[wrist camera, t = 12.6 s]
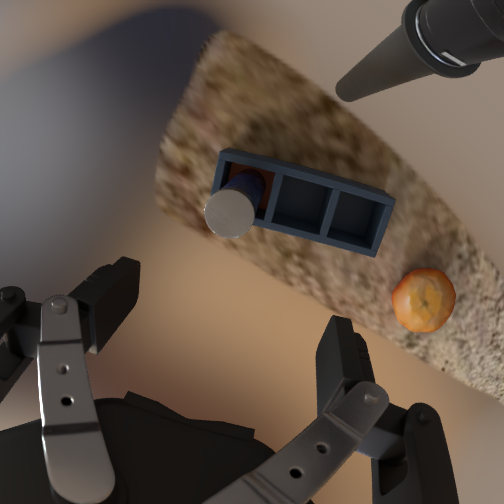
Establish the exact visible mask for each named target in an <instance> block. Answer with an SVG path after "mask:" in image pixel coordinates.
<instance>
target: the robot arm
mask: <svg viewBox="0 0 504 504" xmlns="http://www.w3.org/2000/svg"><path fill="white" fill-rule="evenodd" d="M414 28H415V32H416V35H417V38H418V40H419V42H420V43H421V45H422V47H423V48H424V49H425V51H426V52H427V53H428V54H429V55H430V56H431V57H432V58H434V59H435V60H436V61H438V62H439V63H441V64H443V65H445V66H448V67H452V68H461V67H465V66H468V65H470V64H474V63H478V62H482V61H487V60H491V59H495V58H500V57H504V0H429V1H428V2H426V3H424V4H423V5H422V6H421V7H420V8H419V9H418V10H417V12H416V14H415V17H414ZM139 281H140V262H139V261H137V260H134V259H130V258H127V257H124V256H123V257H121V258H120V259H119V260H117V261H116V262H115V263H114V264H113V265H111V264H108V265H105V266H102V267H100V268H98V269H97V270H96V271H95V272H93V273H92V274H91V275H90V276H89V277H88V278H86V280H84V281H83V282H82V283H81V284H80V285H79V286H77V287H76V288H75V289H74V290H73V291H72V292H71V293H70V294H68V295H55V296H51V297H49V298H47V299H46V300H45V301H44V302H43V304H41V303H36V302H30V301H26V297H25V293H24V291H23V290H22V289H21V288H19V287H14V286H8V287H4V288H1V289H0V339H1V337H4V342H3V343H2V344H1V345H0V403H1V401H3V399H4V398H5V396H6V395H7V394H8V392H9V391H10V389H11V388H12V387H13V385H14V384H15V383H16V381H17V380H18V379H19V377H20V376H21V375H22V373H23V372H24V371H25V369H26V368H27V367H28V366H29V364H30V363H31V362H32V360H33V359H34V358H37V359H38V381H39V396H40V407H41V417H42V418H40V419H37V420H34V421H31V422H28V423H25V424H22V425H19V426H15V427H12V428H9V429H6V430H2V431H0V504H314V503H313V501H311V498H312V497H313V496H314V495H315V494H316V493H317V492H318V491H319V490H320V489H321V488H322V487H323V486H324V485H325V484H326V483H327V482H328V480H329V479H330V478H331V477H332V476H333V475H334V474H335V473H336V472H337V470H338V469H339V468H340V467H341V466H342V465H343V464H344V463H345V461H346V460H347V459H348V458H349V457H350V456H351V454H352V453H353V452H354V451H356V452H359V453H361V454H364V455H366V456H369V457H371V469H372V501H373V504H459V500H458V494H457V488H456V484H455V478H454V474H453V468H452V464H451V460H450V455H449V451H448V447H447V442H446V439H445V435H444V431H443V427H442V423H441V420H440V417H439V415H438V413H437V412H436V410H435V409H433V408H432V407H431V406H429V405H427V404H425V403H415V404H413V405H412V406H411V407H410V408H409V409H408V410H406V409H404V408H401V407H398V406H396V405H394V404H392V403H390V402H389V396H388V394H387V393H386V391H385V390H384V389H383V388H382V387H381V386H379V385H378V384H376V383H375V378H374V374H373V370H372V365H371V361H370V357H369V353H368V349H367V345H366V342H365V340H364V339H363V338H362V336H361V335H360V334H359V333H355V332H354V330H353V326H352V321H351V319H348V318H344V317H340V316H335V315H333V316H332V317H331V318H330V321H329V323H328V325H327V327H326V329H325V332H324V334H323V336H322V338H321V340H320V342H319V345H318V348H317V351H316V379H317V418H316V419H315V420H314V421H313V422H312V423H311V424H310V425H309V426H307V427H306V428H305V429H304V430H303V431H302V432H301V433H299V434H298V435H297V436H296V437H295V438H294V439H292V441H290V442H289V443H288V444H287V445H285V446H284V447H283V448H282V449H280V450H279V451H278V452H277V453H275V452H274V451H273V450H272V449H271V448H269V447H268V446H267V445H265V444H264V443H262V442H260V441H258V440H256V439H254V438H253V437H254V431H255V429H252V428H247V427H243V426H239V425H235V424H230V423H226V422H221V421H207V420H193V419H188V418H185V417H183V416H181V415H180V414H178V413H176V412H174V411H173V410H171V409H169V408H167V407H166V406H164V405H162V404H161V403H159V402H157V401H154V400H151V399H149V398H146V397H143V396H141V395H138V394H135V393H133V392H130V391H128V392H127V394H126V396H125V397H124V399H120V398H101V399H96V400H94V399H93V395H92V390H91V385H90V381H89V375H88V370H87V365H86V359H85V354H86V352H87V351H89V352H92V353H94V354H96V355H98V354H99V352H100V351H101V350H102V348H103V347H104V346H105V344H106V343H107V342H108V340H109V339H110V338H111V336H112V335H113V334H114V332H115V331H116V330H117V328H118V327H119V326H120V324H121V323H122V322H123V321H124V319H125V318H126V317H127V315H128V314H129V313H130V312H131V310H132V309H133V308H134V306H135V304H136V302H137V299H138V294H139Z"/></svg>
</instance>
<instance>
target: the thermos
mask: <svg viewBox="0 0 504 504" xmlns="http://www.w3.org/2000/svg"><path fill="white" fill-rule="evenodd" d="M265 189H266V182H265V179H264V177H263V176H262V174H261V173H259V172H258V171H256V170H253V169H246V170H242V171H241V172H239V173H238V174H237V175H236V176H235V177H234V178H233V179H231V180H230V181H229V182H228V183H227V184H226V185H225V186H224V187H223V188H222V189H220V190H218V191H217V192H215V193H214V194H213V195H212V196H211V197H210V198H209V200H208V201H207V203H206V206H205V211H204V215H205V220H206V223H207V225H208V226H209V228H210V229H211V230H212V231H213V232H214V233H215V234H217V235H219V236H221V237H224V238H237V237H240V236H242V235H244V234H245V233H247V232H248V231H249V229H250V228H251V226H252V224H253V222H254V219H255V215H256V211H257V209H258V206H259V204H260V202H261V199H262V197H263V194H264V192H265Z"/></svg>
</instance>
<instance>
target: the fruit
mask: <svg viewBox="0 0 504 504" xmlns="http://www.w3.org/2000/svg"><path fill="white" fill-rule="evenodd" d="M455 299H456V293H455V290H454V286H453V284H452V283H451V281H450V280H449V279H448V277H447V276H446V275H445V273H444V272H442V271H439V270H436V269H432V268H419V269H415V270H413V271H412V272H410V273H409V274H407V275H406V276H405V277H404V278H403V279H402V280H401V281H400V283H399V284H398V285H397V286H396V288H395V289H394V290H393V293H392V303H393V307H394V310H395V313H396V317H397V320H398V321H399V323H400V324H402V325H404V326H405V327H406V328H407V329H409V330H410V331H412V332H434V331H436V330H437V329H439V328H440V327H441V326H442V325H443V324H444V323H445V322H446V321H447V319H448V318H449V317H450V315H451V313H452V311H453V309H454V304H455Z"/></svg>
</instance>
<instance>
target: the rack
mask: <svg viewBox="0 0 504 504" xmlns="http://www.w3.org/2000/svg"><path fill="white" fill-rule="evenodd" d="M246 169H253V170H256V171H258V172H259V173H261V174H262V176H263V177H264V179H265V182H266V189H265V192H264V194H263V197H262V199H261V202H260V204H259V206H258V209H257V211H256V215H255V219H254V222H253V224H252V225H255V226H259V227H262V228H266V229H270V230H274V231H278V232H282V233H286V234H289V235H293V236H297V237H301V238H304V239H308V240H312V241H316V242H319V243H323V244H327V245H330V246H334V247H338V248H341V249H345V250H349V251H352V252H356V253H359V254H363V255H367V256H370V257H374V258H375V256H376V254H377V251H378V249H379V246H380V243H381V241H382V238H383V235H384V233H385V230H386V227H387V224H388V221H389V219H390V216H391V213H392V210H393V207H394V204H395V201H396V200H395V199H394V198H393V197H391V196H390V195H389V194H388V193H386V192H385V191H383V190H380V189H377V188H374V187H371V186H368V185H365V184H362V183H359V182H356V181H353V180H349V179H346V178H343V177H339V176H336V175H333V174H329V173H326V172H322V171H319V170H315V169H312V168H308V167H305V166H301V165H297V164H294V163H290V162H286V161H282V160H278V159H274V158H270V157H266V156H262V155H258V154H254V153H249V152H245V151H241V150H236V149H232V148H227V149H224V150H222V151H220V152H219V156H218V161H217V166H216V171H215V176H214V181H213V186H212V191H211V196H212V195H213V194H214V193H215V192H217V191H218V190H220V189H222V188H223V187H224V186H225V185H226V184H227V183H228V182H229V181H230V180H231V179H233V178H234V177H235V176H236V175H237V174H238V173H239V172H241V171H242V170H246ZM211 196H210V197H211Z"/></svg>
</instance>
